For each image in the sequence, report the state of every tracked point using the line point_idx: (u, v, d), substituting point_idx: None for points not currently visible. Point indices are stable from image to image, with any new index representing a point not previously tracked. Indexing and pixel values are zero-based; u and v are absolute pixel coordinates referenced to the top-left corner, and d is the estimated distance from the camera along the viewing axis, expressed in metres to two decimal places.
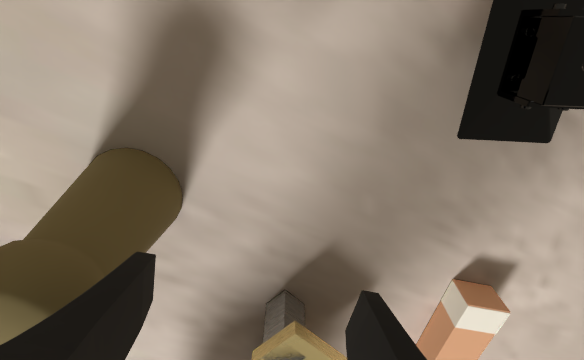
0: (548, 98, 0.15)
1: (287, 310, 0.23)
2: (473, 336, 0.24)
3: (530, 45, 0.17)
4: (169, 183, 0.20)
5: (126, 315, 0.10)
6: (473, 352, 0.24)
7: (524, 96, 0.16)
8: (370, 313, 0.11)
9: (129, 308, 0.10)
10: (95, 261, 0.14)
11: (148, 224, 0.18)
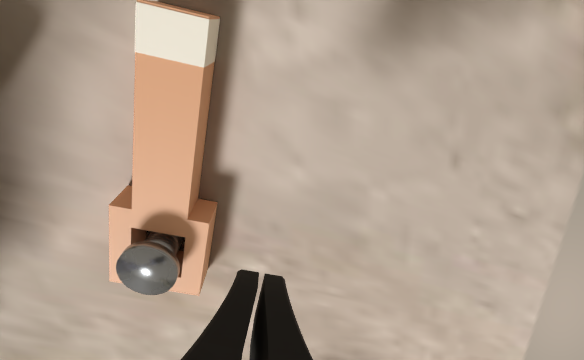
0: None
1: None
2: (172, 73, 0.15)
3: None
4: None
5: (246, 334, 0.10)
6: (186, 109, 0.16)
7: None
8: (263, 295, 0.10)
9: None
10: None
11: None
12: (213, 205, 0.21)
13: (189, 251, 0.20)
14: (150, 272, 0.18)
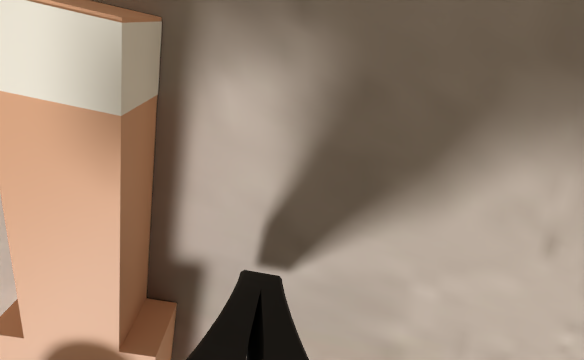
0: None
1: None
2: (61, 126, 0.08)
3: None
4: None
5: None
6: (96, 188, 0.09)
7: None
8: (260, 295, 0.10)
9: None
10: None
11: None
12: (169, 311, 0.13)
13: None
14: None
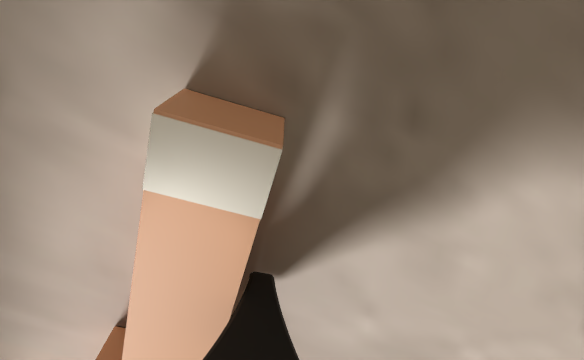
0: None
1: None
2: (204, 223, 0.09)
3: None
4: None
5: None
6: (221, 273, 0.10)
7: None
8: None
9: None
10: None
11: None
12: None
13: None
14: None
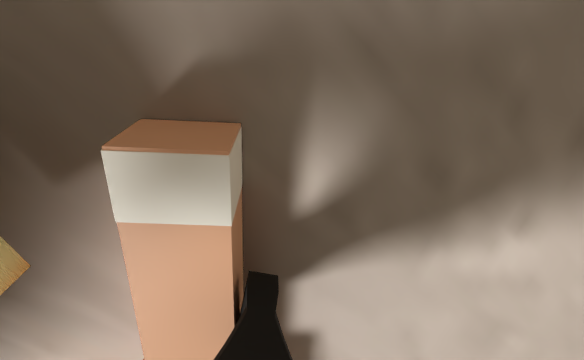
0: None
1: None
2: (181, 241, 0.09)
3: None
4: None
5: None
6: (212, 284, 0.10)
7: None
8: (246, 292, 0.10)
9: None
10: None
11: None
12: None
13: None
14: None
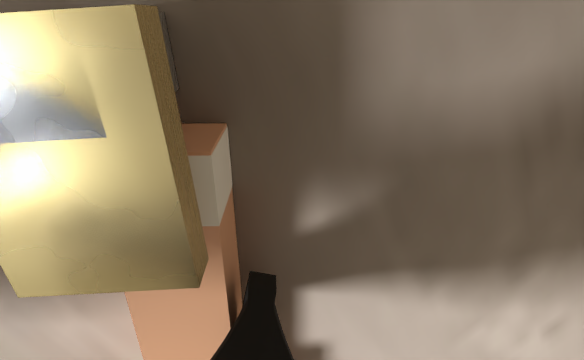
0: None
1: None
2: None
3: None
4: None
5: None
6: (205, 285, 0.10)
7: None
8: (247, 292, 0.10)
9: None
10: None
11: None
12: None
13: None
14: None
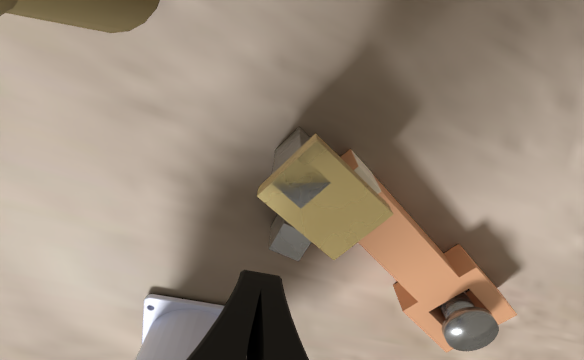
0: None
1: (303, 140, 0.18)
2: None
3: None
4: None
5: None
6: (394, 221, 0.19)
7: None
8: (260, 295, 0.10)
9: None
10: None
11: None
12: (459, 249, 0.23)
13: (480, 294, 0.22)
14: (474, 333, 0.21)
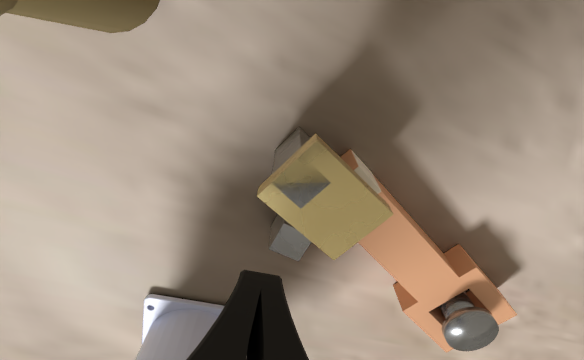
0: None
1: (303, 140, 0.18)
2: None
3: None
4: None
5: None
6: (394, 221, 0.19)
7: None
8: (260, 295, 0.10)
9: None
10: None
11: None
12: (459, 249, 0.23)
13: (480, 294, 0.22)
14: (474, 333, 0.21)
